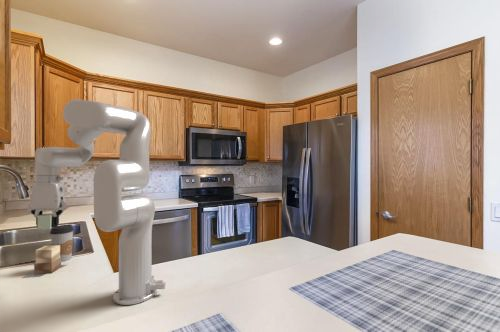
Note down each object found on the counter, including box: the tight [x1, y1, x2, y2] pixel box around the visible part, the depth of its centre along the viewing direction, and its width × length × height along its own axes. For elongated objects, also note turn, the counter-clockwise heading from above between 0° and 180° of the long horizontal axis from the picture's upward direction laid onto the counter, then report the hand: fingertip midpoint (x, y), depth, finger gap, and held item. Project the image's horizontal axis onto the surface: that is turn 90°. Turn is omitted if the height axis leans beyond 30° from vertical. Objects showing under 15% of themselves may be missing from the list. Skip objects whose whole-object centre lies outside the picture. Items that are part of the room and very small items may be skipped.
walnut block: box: [33, 257, 62, 275], centre depth 100 cm, size 6×6×4 cm
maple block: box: [35, 244, 60, 264], centre depth 100 cm, size 6×6×5 cm
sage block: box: [36, 212, 53, 230], centre depth 100 cm, size 4×4×5 cm
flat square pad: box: [21, 264, 67, 279], centre depth 100 cm, size 11×11×1 cm
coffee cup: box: [49, 224, 74, 263], centre depth 112 cm, size 8×8×15 cm
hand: (47, 226), depth 100 cm, fingers closed on sage block, 4 cm apart
